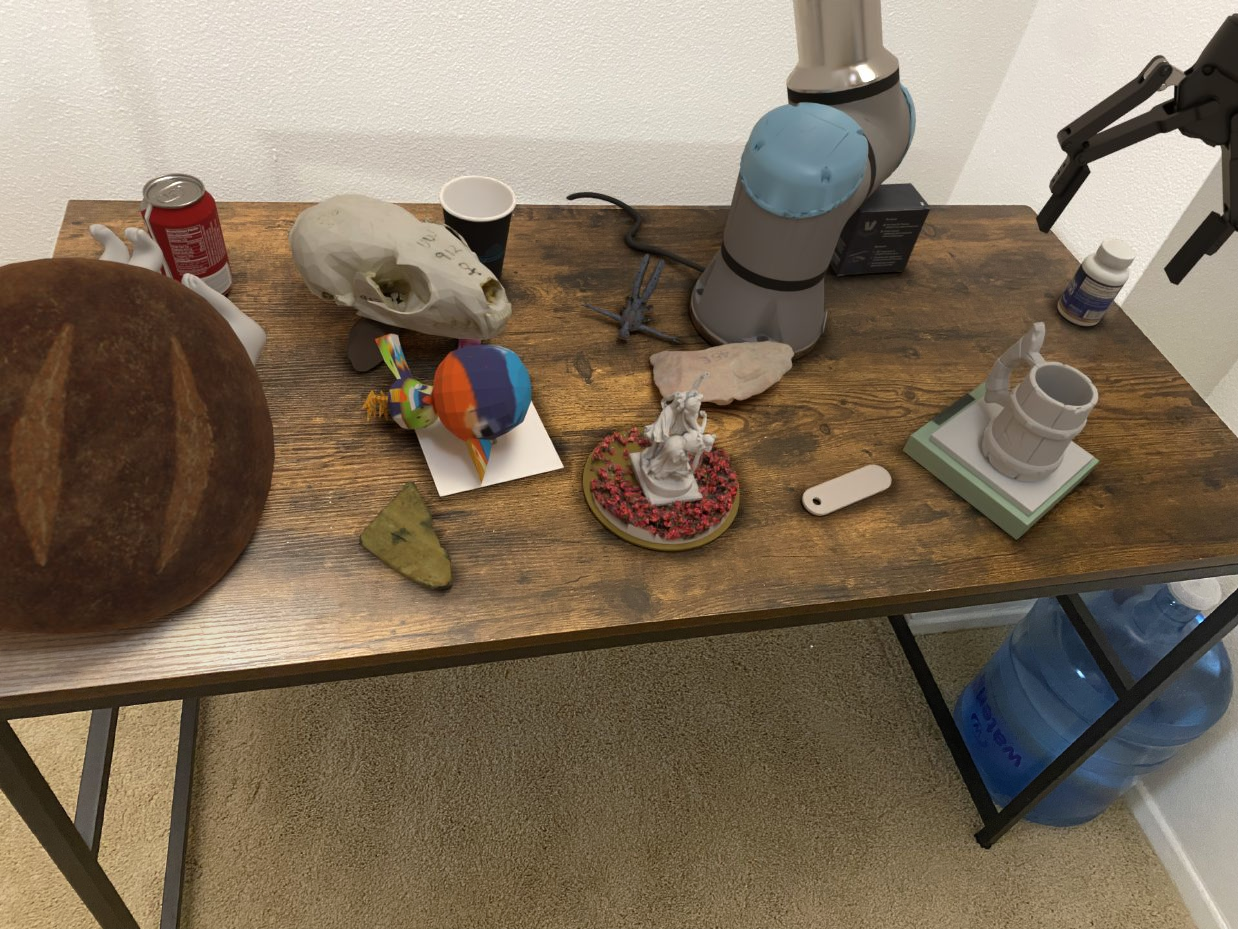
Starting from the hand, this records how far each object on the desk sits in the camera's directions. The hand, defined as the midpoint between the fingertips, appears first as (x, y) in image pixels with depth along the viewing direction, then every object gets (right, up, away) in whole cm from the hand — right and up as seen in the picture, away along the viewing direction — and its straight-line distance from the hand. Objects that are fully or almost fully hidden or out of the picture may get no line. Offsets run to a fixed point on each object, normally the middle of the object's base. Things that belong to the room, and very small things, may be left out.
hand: (1105, 252), depth 88 cm
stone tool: (-43, -11, +7) cm, 45 cm away
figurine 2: (-44, -2, +15) cm, 47 cm away
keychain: (-25, -22, +3) cm, 33 cm away
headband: (-59, -5, +9) cm, 60 cm away
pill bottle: (+10, -2, +26) cm, 28 cm away
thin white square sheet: (-60, -18, +1) cm, 62 cm away
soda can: (-91, -2, +9) cm, 91 cm away
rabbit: (-84, -4, -9) cm, 84 cm away
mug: (-8, -18, +5) cm, 20 cm away
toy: (-69, -15, -2) cm, 71 cm away
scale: (-8, -20, +7) cm, 23 cm away
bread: (-87, -19, -19) cm, 91 cm away
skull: (-68, -5, +5) cm, 69 cm away
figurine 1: (-70, -1, +10) cm, 70 cm away
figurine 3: (-43, -22, -1) cm, 48 cm away
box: (-16, +5, +28) cm, 32 cm away
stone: (-63, -27, -6) cm, 69 cm away
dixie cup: (-62, 0, +15) cm, 64 cm away
